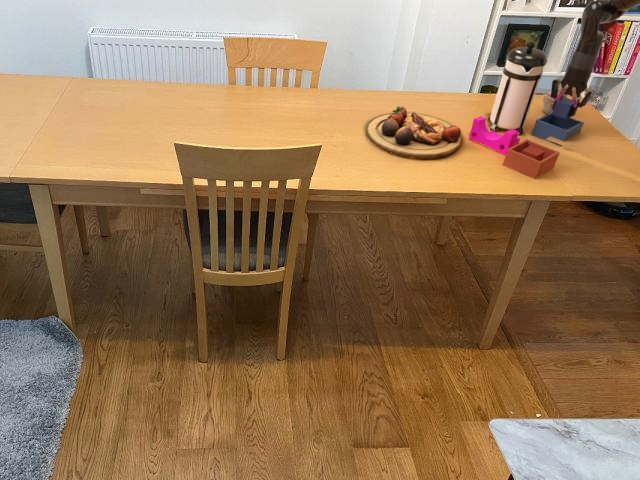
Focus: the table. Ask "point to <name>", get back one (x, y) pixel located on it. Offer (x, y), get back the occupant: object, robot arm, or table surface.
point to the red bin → (530, 159)
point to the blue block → (563, 107)
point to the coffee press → (517, 87)
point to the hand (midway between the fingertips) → (562, 113)
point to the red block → (533, 153)
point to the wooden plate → (414, 135)
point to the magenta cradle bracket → (493, 136)
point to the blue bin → (556, 128)
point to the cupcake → (550, 102)
